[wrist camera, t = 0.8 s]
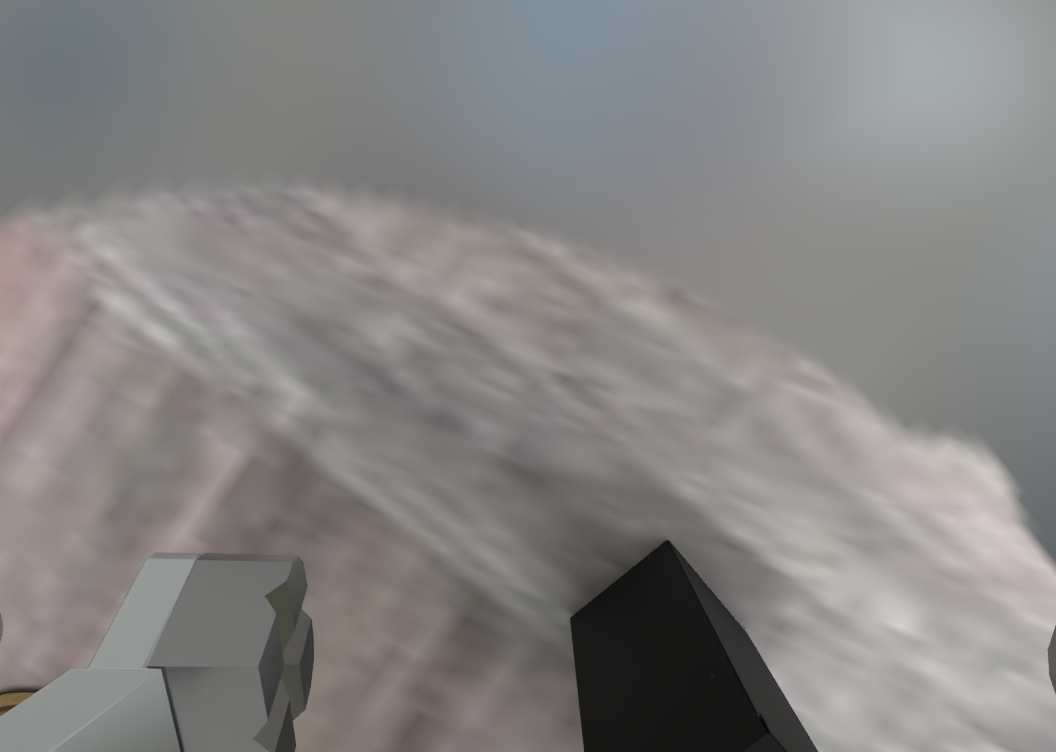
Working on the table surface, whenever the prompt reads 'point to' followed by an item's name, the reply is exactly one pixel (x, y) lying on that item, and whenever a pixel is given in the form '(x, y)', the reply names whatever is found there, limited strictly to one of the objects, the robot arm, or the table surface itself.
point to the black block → (674, 670)
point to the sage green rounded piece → (1, 627)
